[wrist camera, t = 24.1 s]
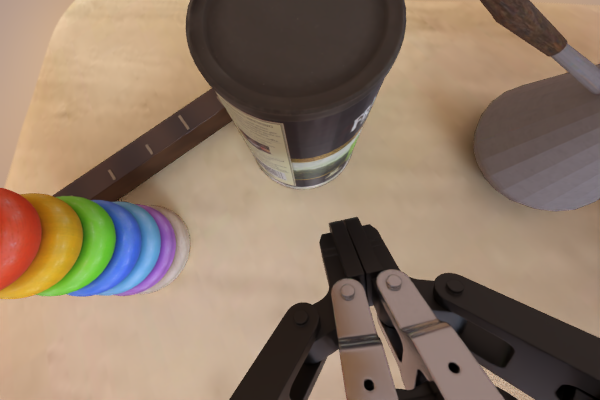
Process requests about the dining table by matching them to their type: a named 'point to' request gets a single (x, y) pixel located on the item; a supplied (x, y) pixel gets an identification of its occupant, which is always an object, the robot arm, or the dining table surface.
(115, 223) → the stacking toy
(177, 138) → the straightedge
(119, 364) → the dining table surface
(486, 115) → the coffee pot
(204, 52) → the coffee can
